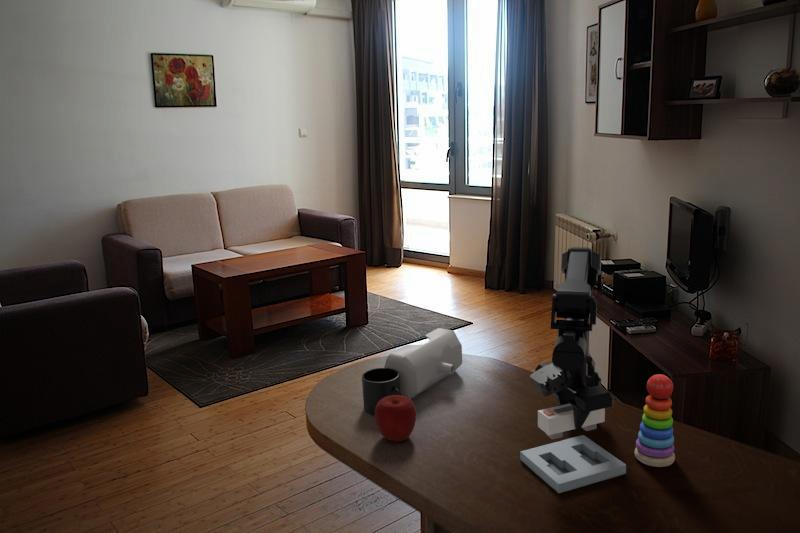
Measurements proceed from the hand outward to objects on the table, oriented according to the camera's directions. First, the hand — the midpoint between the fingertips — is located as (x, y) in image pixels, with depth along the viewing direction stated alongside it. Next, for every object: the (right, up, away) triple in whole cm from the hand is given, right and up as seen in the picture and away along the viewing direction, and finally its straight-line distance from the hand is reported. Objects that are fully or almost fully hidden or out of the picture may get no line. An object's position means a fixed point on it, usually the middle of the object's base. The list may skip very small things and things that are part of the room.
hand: (571, 424), depth 136 cm
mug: (-38, -5, +34) cm, 51 cm away
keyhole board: (+1, -10, +4) cm, 11 cm away
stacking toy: (+19, -9, +5) cm, 21 cm away
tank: (-27, -1, +48) cm, 55 cm away
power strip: (0, -2, 0) cm, 2 cm away
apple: (-35, -8, +20) cm, 41 cm away
